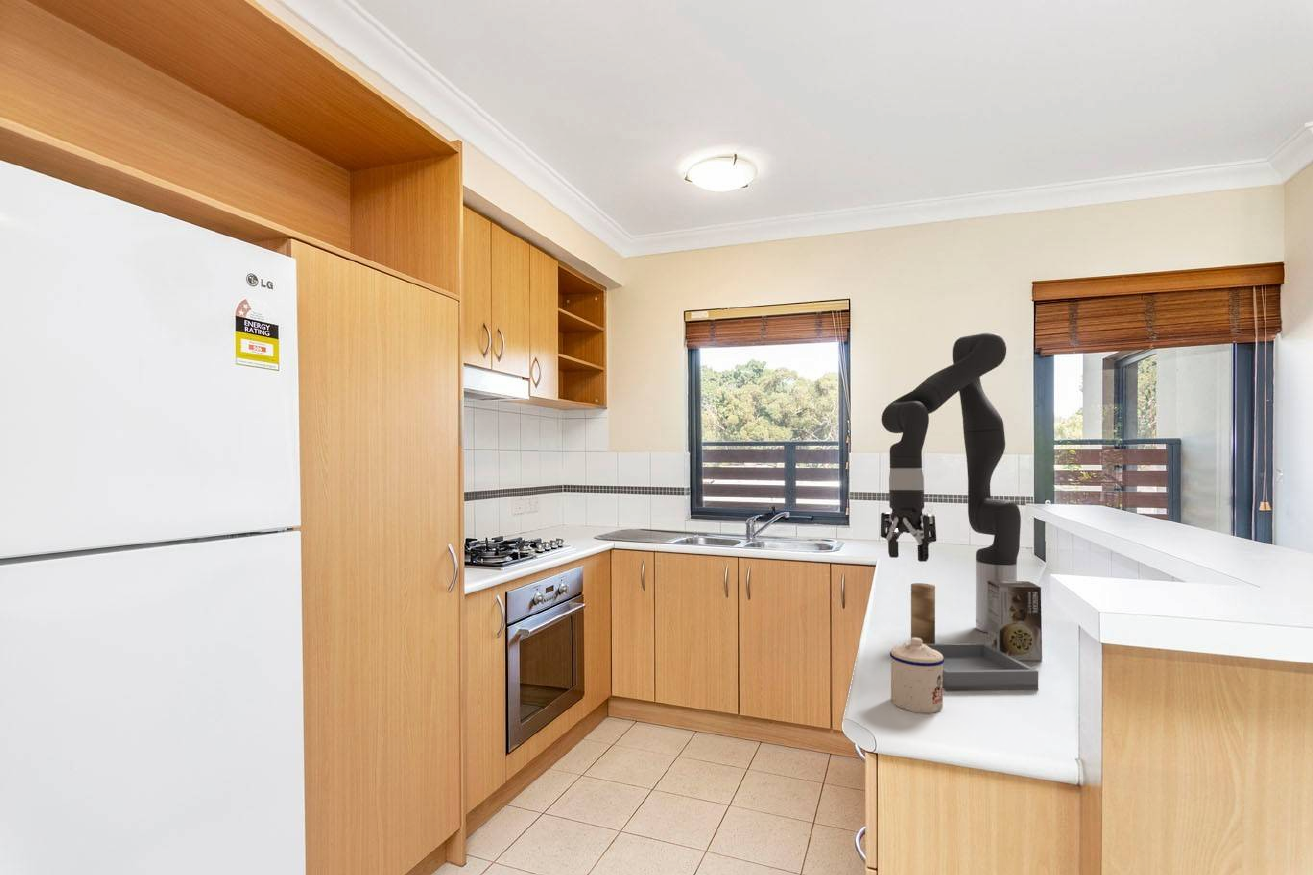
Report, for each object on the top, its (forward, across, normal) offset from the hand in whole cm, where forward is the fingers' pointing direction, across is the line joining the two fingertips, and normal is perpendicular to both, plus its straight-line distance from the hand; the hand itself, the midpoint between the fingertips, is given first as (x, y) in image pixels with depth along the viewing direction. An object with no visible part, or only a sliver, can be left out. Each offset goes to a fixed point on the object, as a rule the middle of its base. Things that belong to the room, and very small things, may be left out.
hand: (907, 559), depth 148 cm
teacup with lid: (+22, -22, +22) cm, 39 cm away
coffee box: (+21, -12, -19) cm, 31 cm away
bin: (+21, -16, +1) cm, 27 cm away
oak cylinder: (+20, +2, -6) cm, 21 cm away
